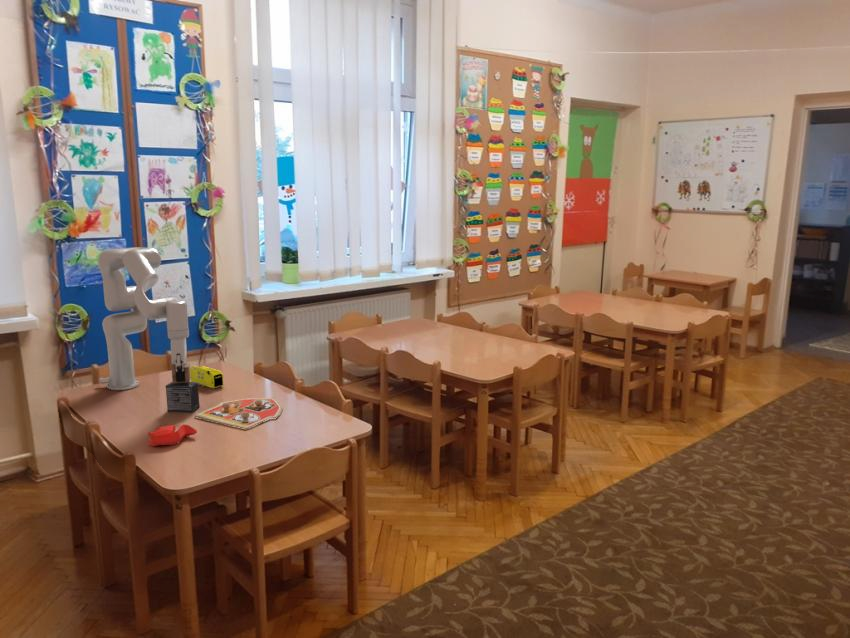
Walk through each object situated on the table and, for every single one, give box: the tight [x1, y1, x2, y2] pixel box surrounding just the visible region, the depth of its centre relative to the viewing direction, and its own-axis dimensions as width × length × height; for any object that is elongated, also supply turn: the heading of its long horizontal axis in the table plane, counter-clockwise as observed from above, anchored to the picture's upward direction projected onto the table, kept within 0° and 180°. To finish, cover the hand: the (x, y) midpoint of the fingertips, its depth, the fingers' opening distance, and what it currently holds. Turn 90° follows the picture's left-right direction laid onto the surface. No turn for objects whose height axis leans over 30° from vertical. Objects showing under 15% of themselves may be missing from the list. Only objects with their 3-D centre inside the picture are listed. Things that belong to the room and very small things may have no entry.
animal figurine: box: [147, 424, 198, 447], centre depth 226 cm, size 12×15×5 cm
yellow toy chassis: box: [190, 365, 225, 389], centre depth 285 cm, size 16×6×8 cm, turn 54°
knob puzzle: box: [194, 397, 284, 429], centre depth 254 cm, size 29×30×4 cm
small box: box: [165, 381, 200, 413], centre depth 255 cm, size 11×6×10 cm, turn 84°
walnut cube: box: [171, 362, 191, 383], centre depth 253 cm, size 6×6×6 cm
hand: (181, 378), depth 254 cm, fingers closed on walnut cube, 5 cm apart
